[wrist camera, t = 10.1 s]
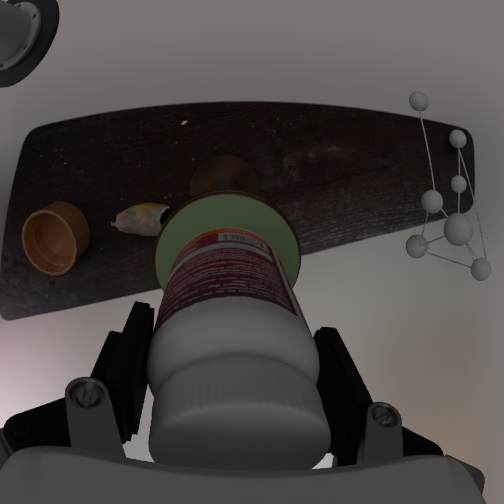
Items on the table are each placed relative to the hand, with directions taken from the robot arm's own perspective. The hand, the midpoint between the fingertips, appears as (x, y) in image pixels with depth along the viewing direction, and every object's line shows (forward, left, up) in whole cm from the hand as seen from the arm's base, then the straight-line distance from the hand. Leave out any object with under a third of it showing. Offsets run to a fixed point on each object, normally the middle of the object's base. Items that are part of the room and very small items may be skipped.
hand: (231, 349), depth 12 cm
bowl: (-15, -20, -32) cm, 41 cm away
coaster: (0, 0, -8) cm, 8 cm away
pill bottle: (0, 0, -7) cm, 7 cm away
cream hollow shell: (-6, -10, -32) cm, 34 cm away
